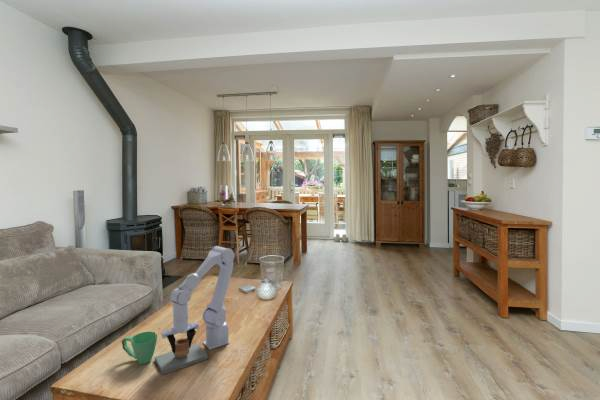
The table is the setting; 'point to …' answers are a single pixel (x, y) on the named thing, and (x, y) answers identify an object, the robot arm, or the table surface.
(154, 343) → the mug
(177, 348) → the tube
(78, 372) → the table surface
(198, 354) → the post board
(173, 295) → the robot arm
